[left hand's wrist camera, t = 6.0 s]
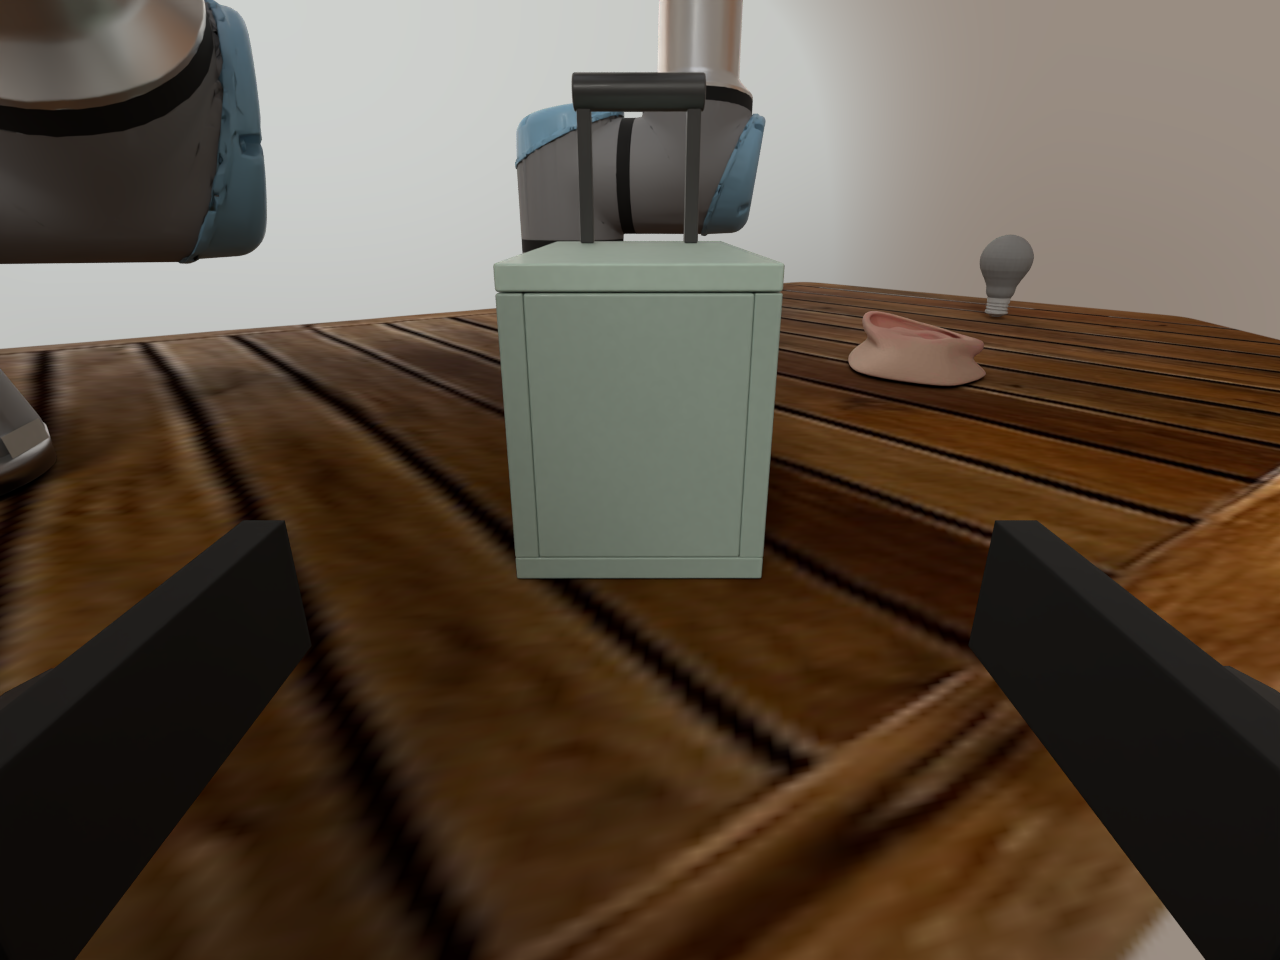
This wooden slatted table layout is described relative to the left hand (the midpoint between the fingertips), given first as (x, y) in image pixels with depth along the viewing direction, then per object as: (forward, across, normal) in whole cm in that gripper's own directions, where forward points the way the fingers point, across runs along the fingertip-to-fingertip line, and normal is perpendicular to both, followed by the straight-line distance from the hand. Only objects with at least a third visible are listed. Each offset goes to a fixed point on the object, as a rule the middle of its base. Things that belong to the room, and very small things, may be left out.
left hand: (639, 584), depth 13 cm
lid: (+20, 0, +4) cm, 20 cm away
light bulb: (+79, +46, -6) cm, 92 cm away
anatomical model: (+48, +24, -6) cm, 54 cm away
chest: (+20, 0, -6) cm, 21 cm away
